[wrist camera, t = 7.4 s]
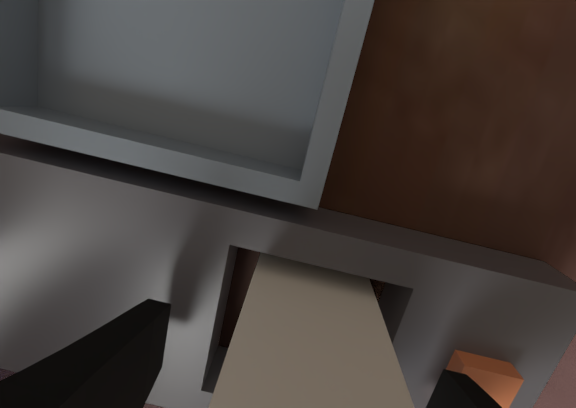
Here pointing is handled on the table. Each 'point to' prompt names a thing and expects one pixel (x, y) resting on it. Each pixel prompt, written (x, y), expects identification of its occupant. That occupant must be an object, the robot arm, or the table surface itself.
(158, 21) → the tray
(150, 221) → the power strip
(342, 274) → the plug
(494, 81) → the table surface
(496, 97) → the table surface
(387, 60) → the table surface
